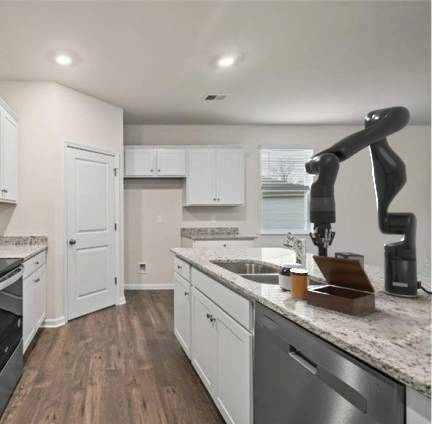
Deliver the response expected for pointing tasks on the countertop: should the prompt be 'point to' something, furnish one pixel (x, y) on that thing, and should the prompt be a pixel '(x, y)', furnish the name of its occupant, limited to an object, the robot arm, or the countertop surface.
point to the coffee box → (350, 256)
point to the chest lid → (344, 273)
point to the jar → (299, 283)
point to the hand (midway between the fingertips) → (323, 257)
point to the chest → (341, 299)
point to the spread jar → (288, 275)
